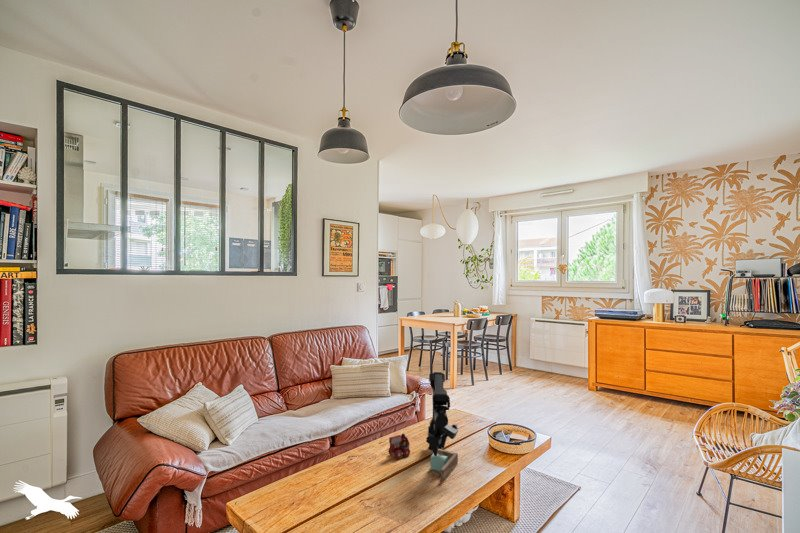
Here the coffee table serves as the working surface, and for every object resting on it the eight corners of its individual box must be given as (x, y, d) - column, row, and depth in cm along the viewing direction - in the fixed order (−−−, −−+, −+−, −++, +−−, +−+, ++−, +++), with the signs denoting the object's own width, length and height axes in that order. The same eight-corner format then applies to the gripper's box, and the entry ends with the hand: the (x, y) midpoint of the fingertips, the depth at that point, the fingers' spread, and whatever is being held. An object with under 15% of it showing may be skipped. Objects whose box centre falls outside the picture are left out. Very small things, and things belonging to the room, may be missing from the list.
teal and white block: (447, 469, 184) (447, 456, 184) (444, 472, 180) (444, 459, 180) (433, 465, 187) (434, 452, 187) (430, 468, 184) (430, 455, 184)
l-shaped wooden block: (421, 475, 178) (421, 464, 178) (437, 458, 195) (437, 448, 195) (443, 481, 173) (443, 470, 173) (457, 463, 190) (457, 453, 190)
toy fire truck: (412, 454, 198) (413, 434, 198) (393, 461, 191) (394, 440, 191) (404, 449, 204) (405, 430, 204) (385, 455, 196) (386, 435, 196)
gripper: (448, 429, 172) (448, 464, 172) (462, 416, 189) (461, 448, 188) (426, 424, 177) (425, 458, 177) (441, 411, 194) (440, 443, 193)
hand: (439, 451), depth 184 cm, fingers open, 9 cm apart
